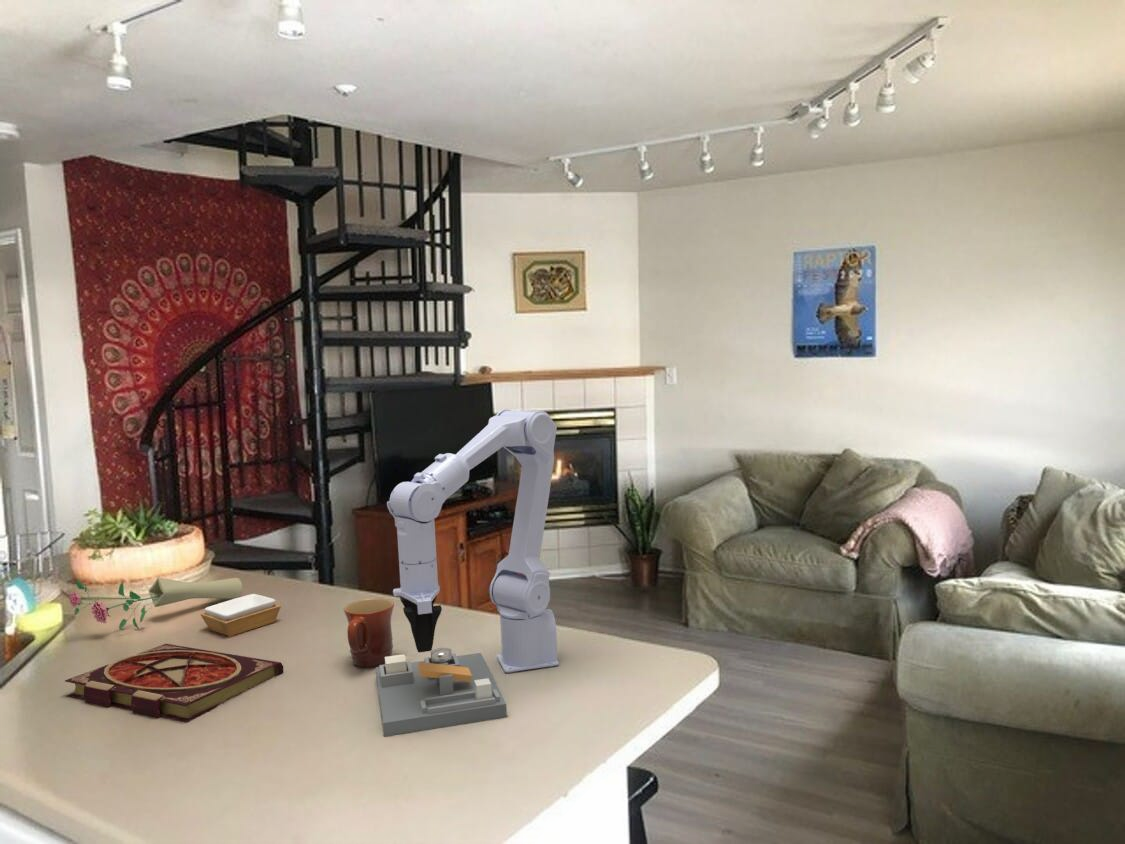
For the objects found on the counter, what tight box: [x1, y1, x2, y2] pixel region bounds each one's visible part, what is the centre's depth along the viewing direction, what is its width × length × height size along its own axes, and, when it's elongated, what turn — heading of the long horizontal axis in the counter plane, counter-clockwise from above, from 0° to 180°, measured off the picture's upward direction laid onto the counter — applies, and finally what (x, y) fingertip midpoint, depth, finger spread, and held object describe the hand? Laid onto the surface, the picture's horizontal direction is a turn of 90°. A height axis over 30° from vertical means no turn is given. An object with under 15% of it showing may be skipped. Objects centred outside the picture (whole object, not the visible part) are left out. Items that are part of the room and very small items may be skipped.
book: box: [64, 643, 285, 724], centre depth 142 cm, size 28×21×5 cm
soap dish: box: [200, 593, 282, 638], centre depth 171 cm, size 12×10×5 cm
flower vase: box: [68, 576, 243, 631], centre depth 177 cm, size 12×12×35 cm
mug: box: [343, 597, 395, 668], centre depth 147 cm, size 12×9×10 cm
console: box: [375, 652, 508, 737], centre depth 133 cm, size 18×22×5 cm
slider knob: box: [474, 678, 492, 700], centre depth 126 cm, size 2×2×3 cm
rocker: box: [418, 662, 472, 682], centre depth 131 cm, size 8×4×1 cm, turn 105°
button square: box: [384, 654, 407, 674], centre depth 135 cm, size 3×3×2 cm
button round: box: [430, 647, 453, 665], centre depth 138 cm, size 3×3×2 cm
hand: (422, 645), depth 130 cm, fingers open, 4 cm apart
